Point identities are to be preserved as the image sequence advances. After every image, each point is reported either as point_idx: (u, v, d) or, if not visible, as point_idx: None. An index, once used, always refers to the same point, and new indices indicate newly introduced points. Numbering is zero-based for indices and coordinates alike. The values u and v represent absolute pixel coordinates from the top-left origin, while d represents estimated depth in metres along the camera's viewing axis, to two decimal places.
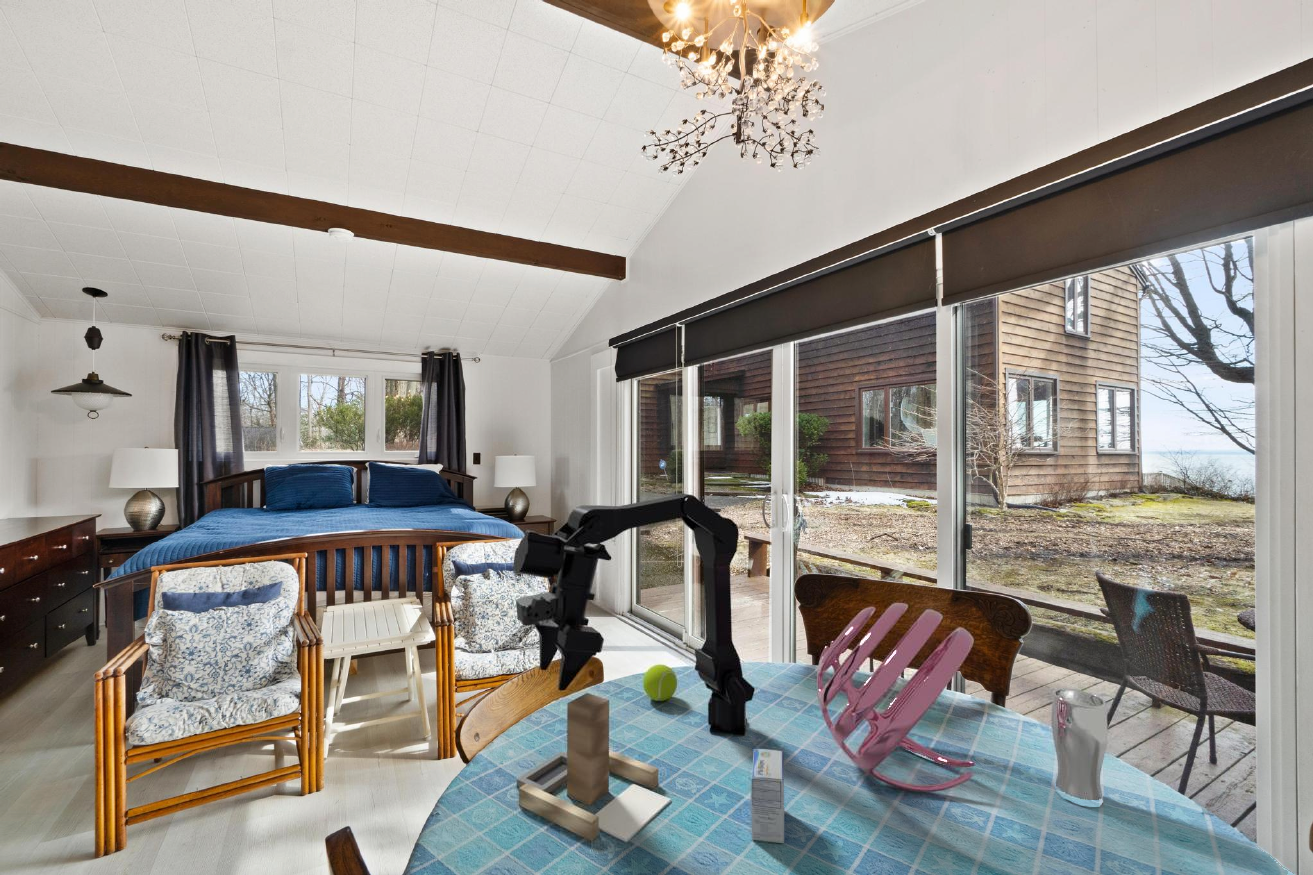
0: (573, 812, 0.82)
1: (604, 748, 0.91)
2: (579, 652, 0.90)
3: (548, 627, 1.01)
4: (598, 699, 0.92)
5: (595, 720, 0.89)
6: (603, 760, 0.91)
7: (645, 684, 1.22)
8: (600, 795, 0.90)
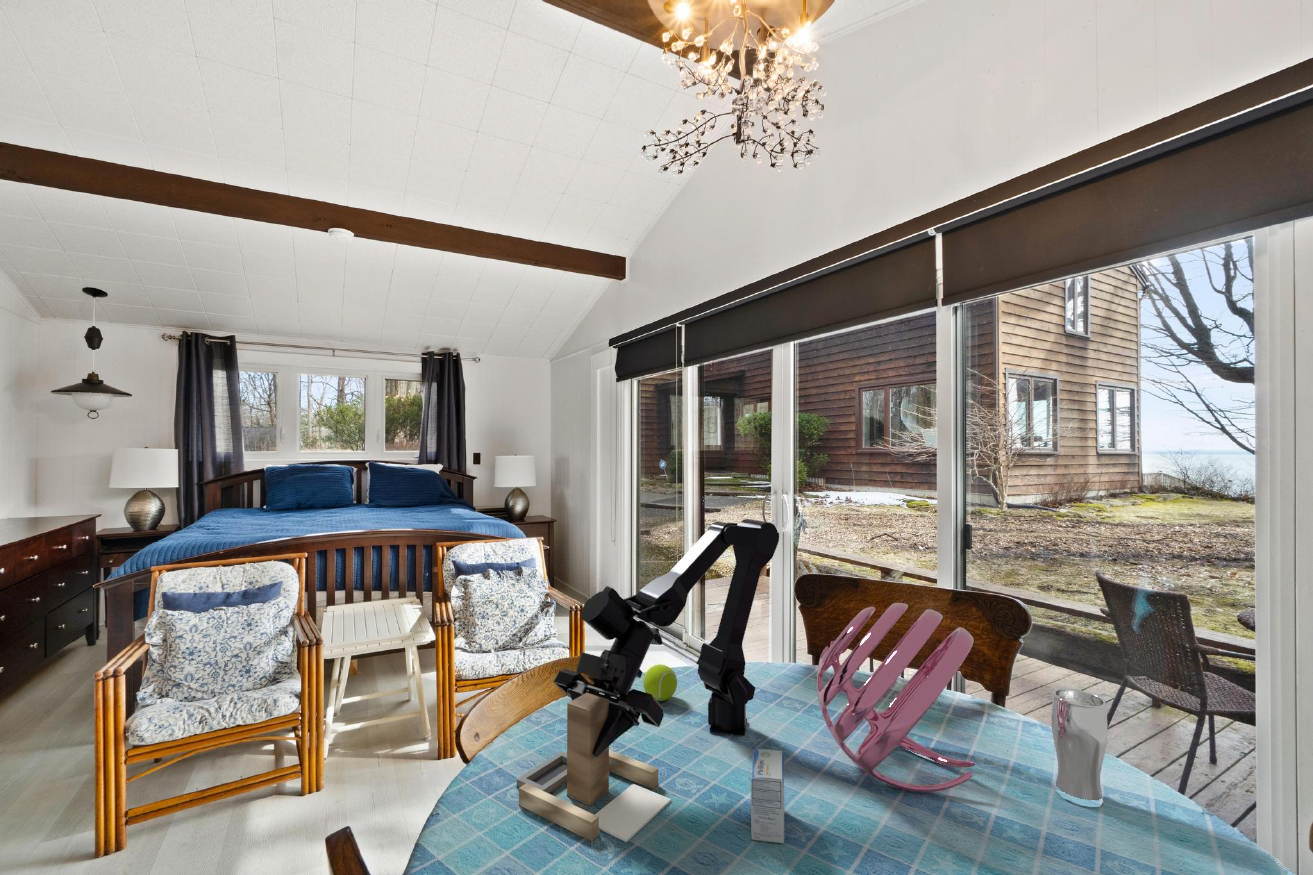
0: (573, 812, 0.82)
1: None
2: (632, 716, 0.90)
3: None
4: (598, 699, 0.92)
5: (595, 720, 0.89)
6: (603, 760, 0.91)
7: (645, 684, 1.22)
8: (600, 795, 0.90)
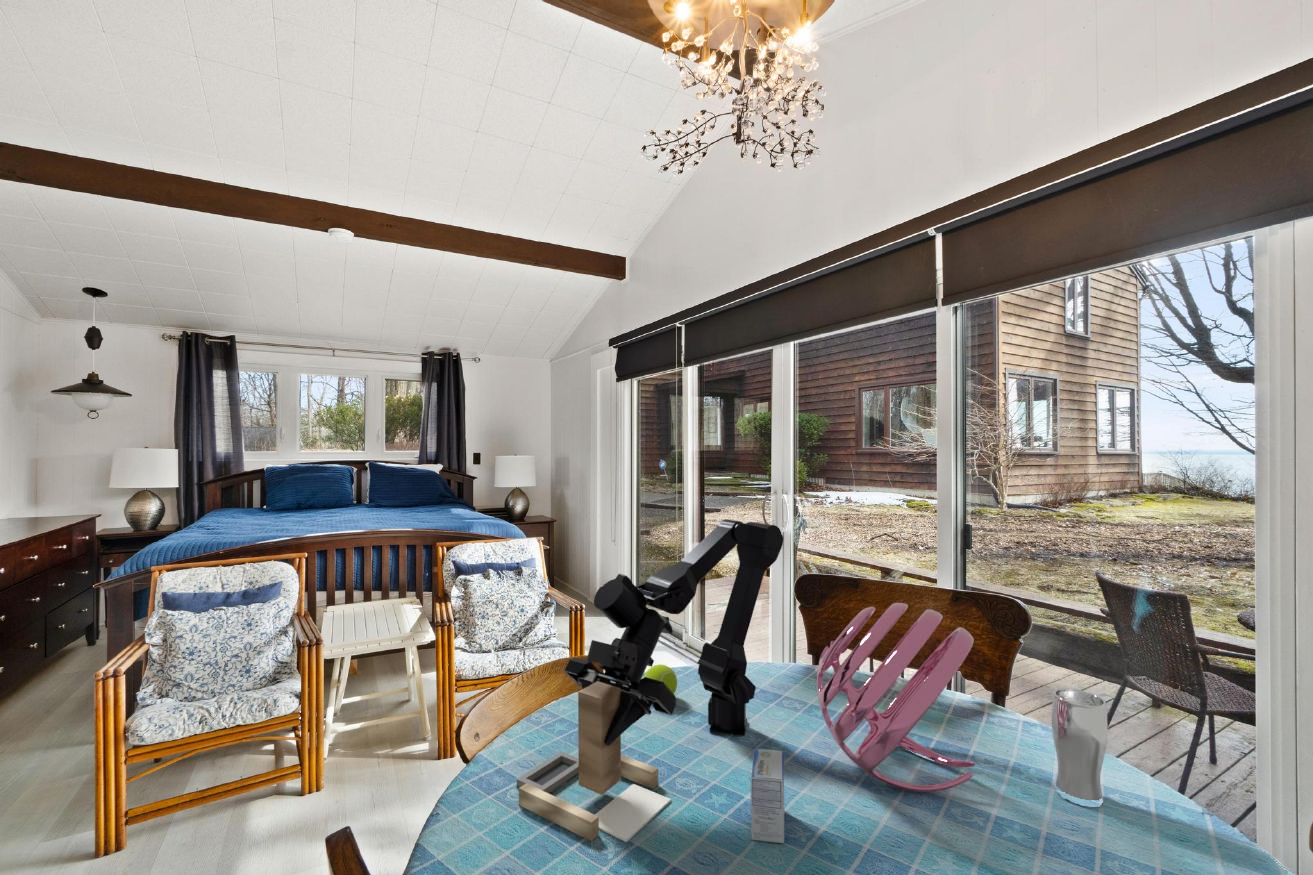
0: (573, 812, 0.82)
1: None
2: (644, 705, 0.89)
3: None
4: (609, 687, 0.91)
5: (606, 708, 0.88)
6: (615, 749, 0.89)
7: None
8: (612, 784, 0.89)
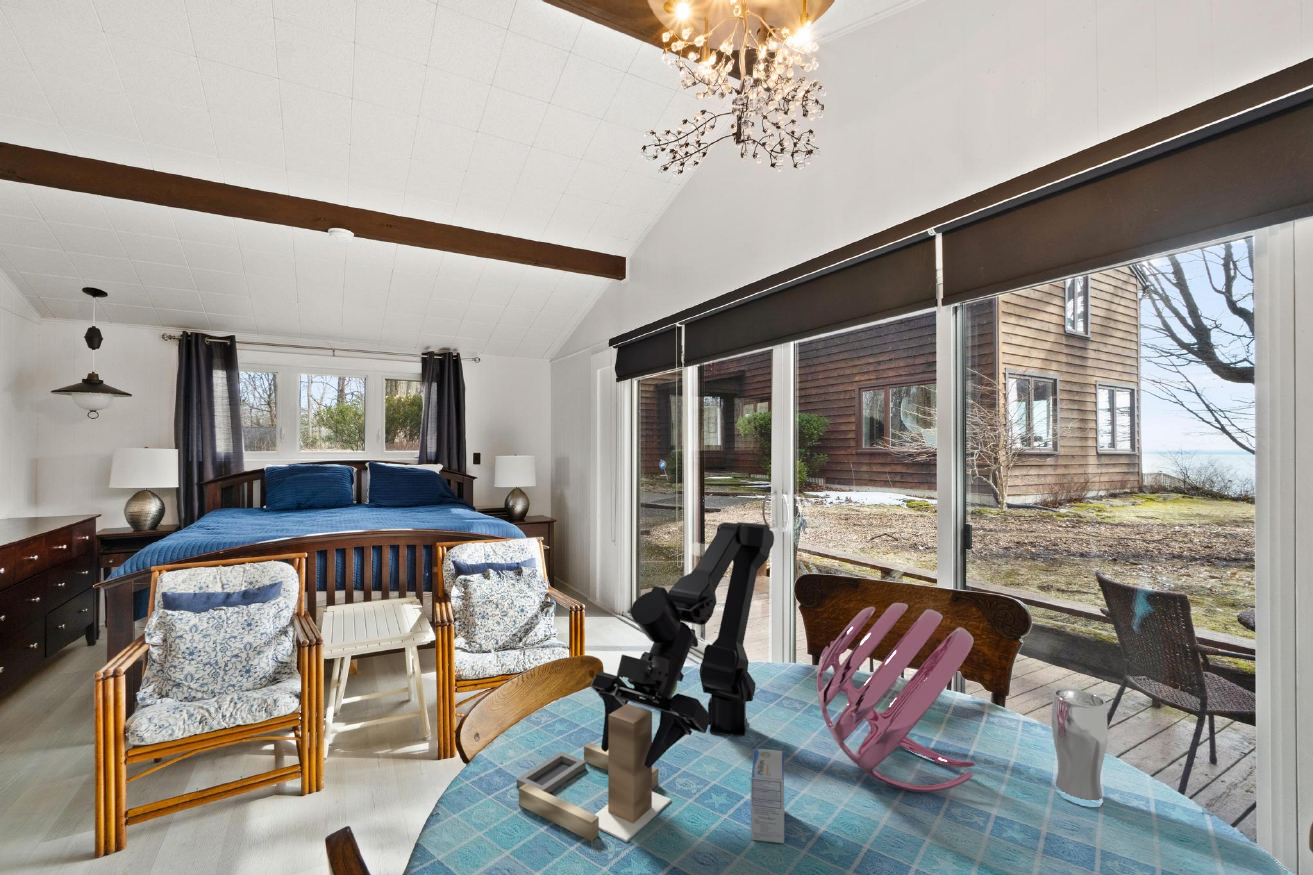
0: (573, 812, 0.82)
1: None
2: (685, 725, 0.85)
3: (618, 702, 0.91)
4: (640, 710, 0.87)
5: (638, 732, 0.84)
6: (646, 775, 0.86)
7: None
8: (643, 812, 0.85)
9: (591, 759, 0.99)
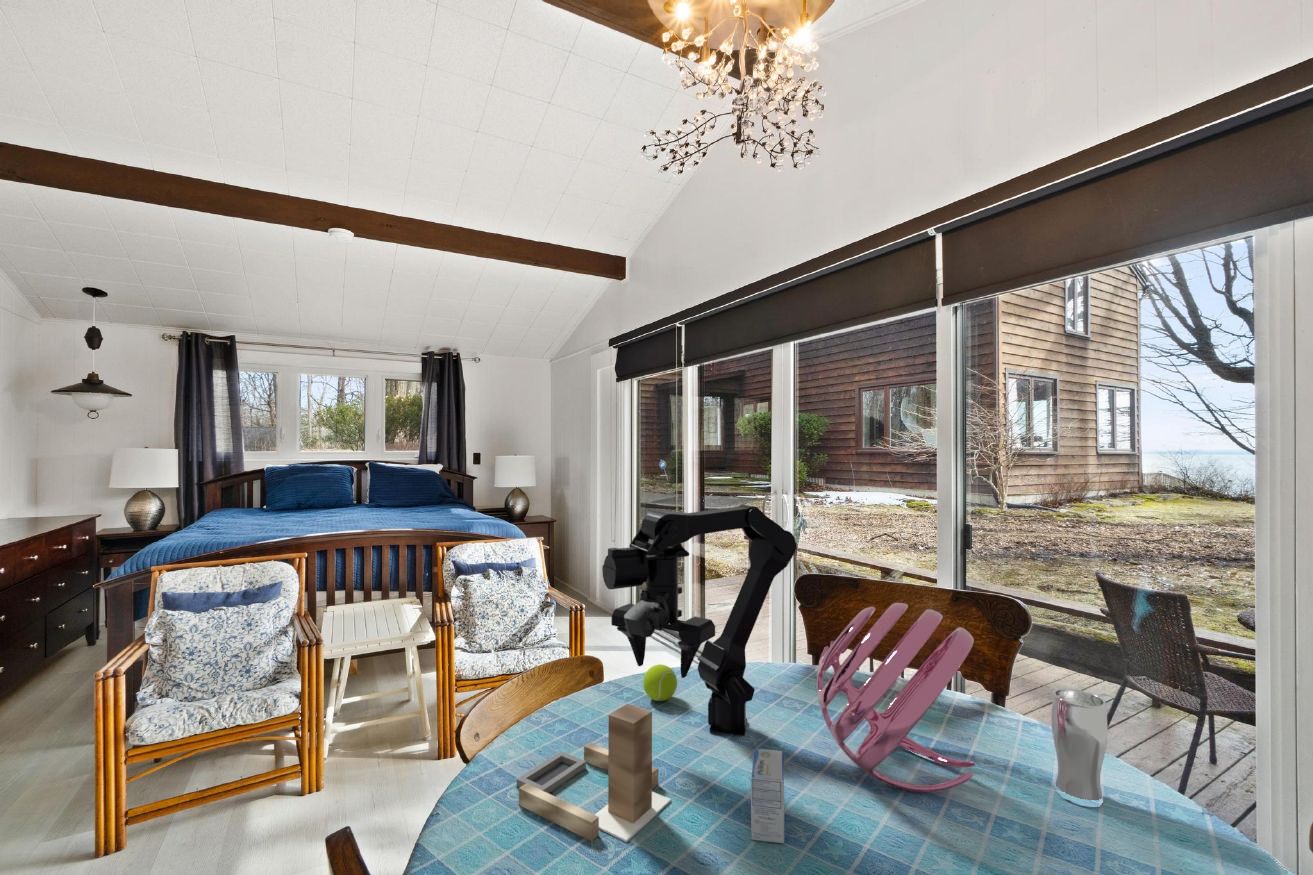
0: (573, 812, 0.82)
1: (647, 762, 0.86)
2: None
3: None
4: (640, 710, 0.87)
5: (638, 732, 0.84)
6: (646, 775, 0.86)
7: (645, 684, 1.22)
8: (643, 812, 0.85)
9: (591, 759, 0.99)
